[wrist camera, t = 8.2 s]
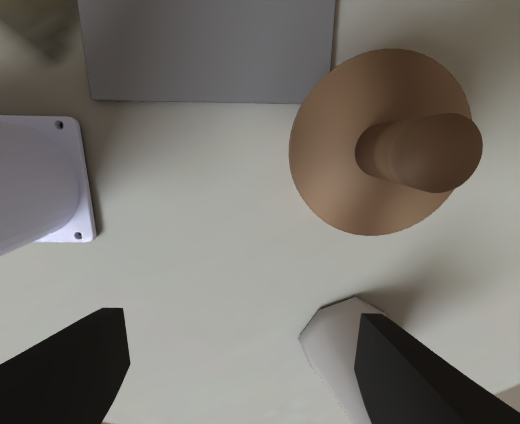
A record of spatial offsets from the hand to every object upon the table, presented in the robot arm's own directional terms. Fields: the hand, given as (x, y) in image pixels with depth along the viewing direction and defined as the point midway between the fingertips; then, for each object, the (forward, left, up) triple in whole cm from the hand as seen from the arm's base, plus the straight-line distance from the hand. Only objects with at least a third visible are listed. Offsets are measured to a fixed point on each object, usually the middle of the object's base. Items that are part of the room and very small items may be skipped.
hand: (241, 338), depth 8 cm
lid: (+7, +6, -7) cm, 11 cm away
